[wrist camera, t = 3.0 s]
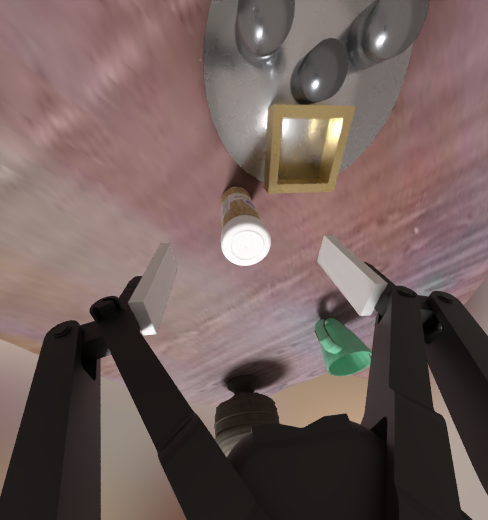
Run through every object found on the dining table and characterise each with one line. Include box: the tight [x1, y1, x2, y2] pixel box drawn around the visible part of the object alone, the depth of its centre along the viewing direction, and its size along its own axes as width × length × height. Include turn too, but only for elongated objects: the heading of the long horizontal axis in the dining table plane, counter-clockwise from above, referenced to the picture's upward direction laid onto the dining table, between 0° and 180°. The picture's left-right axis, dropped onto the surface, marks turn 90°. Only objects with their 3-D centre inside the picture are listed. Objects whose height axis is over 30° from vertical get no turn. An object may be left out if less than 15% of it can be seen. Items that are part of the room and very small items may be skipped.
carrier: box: [203, 0, 429, 193], centre depth 19 cm, size 22×22×6 cm
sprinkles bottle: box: [221, 187, 271, 266], centre depth 22 cm, size 5×5×14 cm
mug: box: [315, 318, 372, 376], centre depth 42 cm, size 15×10×10 cm
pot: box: [214, 375, 279, 457], centre depth 52 cm, size 18×18×20 cm
